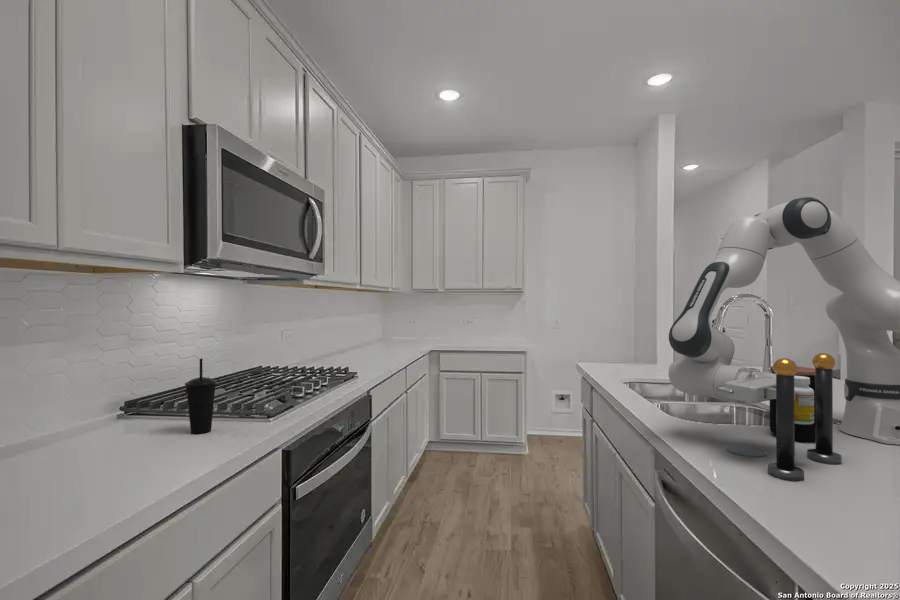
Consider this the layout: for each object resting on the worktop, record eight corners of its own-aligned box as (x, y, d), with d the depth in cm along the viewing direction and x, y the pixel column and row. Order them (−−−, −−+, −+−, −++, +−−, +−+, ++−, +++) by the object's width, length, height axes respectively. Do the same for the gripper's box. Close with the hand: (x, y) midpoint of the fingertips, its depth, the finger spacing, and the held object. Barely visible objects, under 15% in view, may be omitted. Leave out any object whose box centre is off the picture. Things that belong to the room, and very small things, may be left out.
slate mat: (764, 449, 109) (764, 446, 109) (768, 459, 102) (768, 456, 102) (725, 444, 113) (725, 441, 113) (726, 453, 106) (726, 451, 106)
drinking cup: (183, 430, 125) (184, 358, 125) (214, 426, 130) (215, 356, 130) (185, 437, 119) (185, 361, 119) (218, 432, 123) (218, 359, 123)
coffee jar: (812, 433, 122) (811, 366, 122) (827, 445, 112) (827, 372, 112) (764, 429, 126) (764, 364, 126) (776, 440, 116) (775, 370, 116)
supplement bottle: (778, 417, 102) (777, 374, 102) (805, 418, 101) (804, 375, 101) (791, 424, 97) (791, 378, 97) (820, 425, 96) (819, 379, 96)
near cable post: (801, 473, 94) (800, 357, 94) (806, 483, 89) (806, 360, 89) (765, 468, 97) (765, 355, 97) (769, 477, 92) (769, 359, 92)
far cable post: (837, 458, 103) (837, 352, 103) (844, 466, 98) (844, 355, 98) (804, 453, 106) (804, 351, 106) (809, 461, 101) (809, 353, 101)
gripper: (711, 375, 105) (779, 384, 93) (756, 367, 115) (823, 375, 103) (711, 402, 105) (779, 415, 93) (757, 392, 115) (823, 402, 103)
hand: (803, 394), depth 98 cm, fingers closed on supplement bottle, 5 cm apart
